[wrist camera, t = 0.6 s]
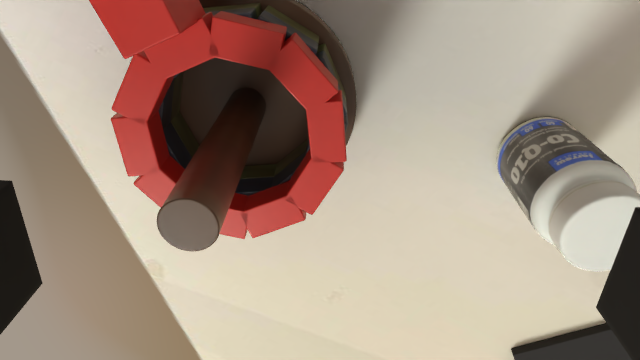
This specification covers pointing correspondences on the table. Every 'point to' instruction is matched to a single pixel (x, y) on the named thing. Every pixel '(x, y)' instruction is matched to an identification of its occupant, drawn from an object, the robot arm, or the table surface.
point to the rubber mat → (576, 347)
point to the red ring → (233, 45)
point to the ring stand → (240, 124)
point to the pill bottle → (568, 190)
